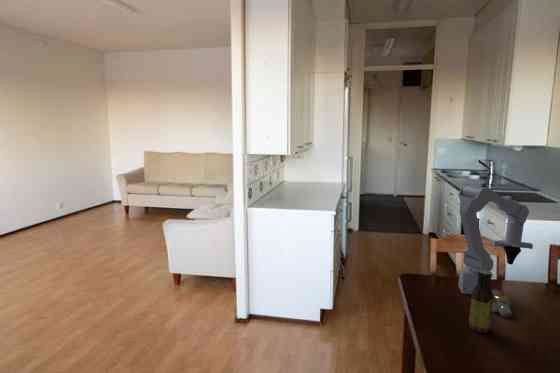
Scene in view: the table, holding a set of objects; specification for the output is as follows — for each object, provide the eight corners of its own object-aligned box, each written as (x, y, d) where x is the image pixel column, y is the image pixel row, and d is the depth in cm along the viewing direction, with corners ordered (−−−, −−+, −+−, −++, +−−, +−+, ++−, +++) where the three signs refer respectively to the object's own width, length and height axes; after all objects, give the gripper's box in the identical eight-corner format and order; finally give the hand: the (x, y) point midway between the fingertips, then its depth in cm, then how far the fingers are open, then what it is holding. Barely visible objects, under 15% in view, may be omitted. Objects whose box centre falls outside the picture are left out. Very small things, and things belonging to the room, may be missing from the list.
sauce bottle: (492, 335, 122) (500, 277, 119) (471, 332, 124) (478, 275, 120) (485, 324, 129) (492, 269, 125) (465, 322, 130) (472, 267, 126)
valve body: (493, 315, 134) (495, 304, 133) (482, 297, 148) (483, 287, 147) (511, 318, 133) (512, 306, 132) (497, 299, 147) (499, 288, 146)
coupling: (494, 308, 140) (496, 298, 139) (491, 302, 144) (493, 293, 143) (509, 310, 139) (511, 300, 138) (506, 304, 143) (507, 294, 142)
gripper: (499, 233, 153) (494, 265, 155) (538, 236, 150) (533, 268, 153) (492, 228, 160) (488, 259, 162) (529, 231, 157) (525, 262, 160)
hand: (509, 263), depth 158 cm, fingers closed
